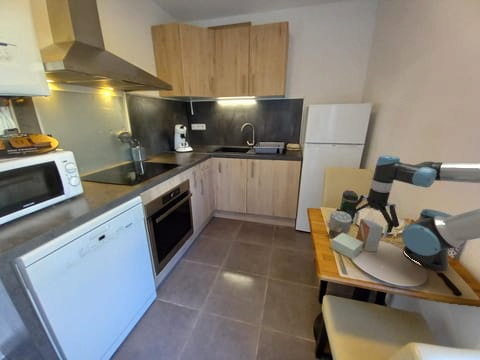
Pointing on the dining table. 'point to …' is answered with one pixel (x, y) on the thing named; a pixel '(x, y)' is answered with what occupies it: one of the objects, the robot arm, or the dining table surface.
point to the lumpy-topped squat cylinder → (340, 220)
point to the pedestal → (347, 245)
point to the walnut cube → (334, 232)
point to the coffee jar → (348, 202)
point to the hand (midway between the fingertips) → (368, 230)
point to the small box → (369, 234)
